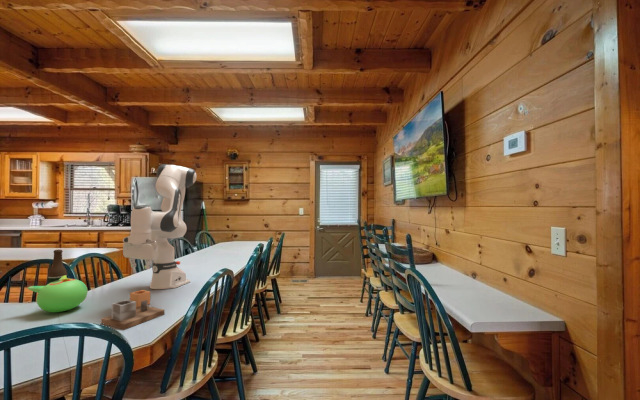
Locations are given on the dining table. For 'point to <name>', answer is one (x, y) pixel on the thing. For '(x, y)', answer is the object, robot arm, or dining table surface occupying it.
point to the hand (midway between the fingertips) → (140, 268)
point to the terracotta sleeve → (140, 297)
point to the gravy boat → (60, 294)
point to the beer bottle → (56, 267)
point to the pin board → (130, 314)
